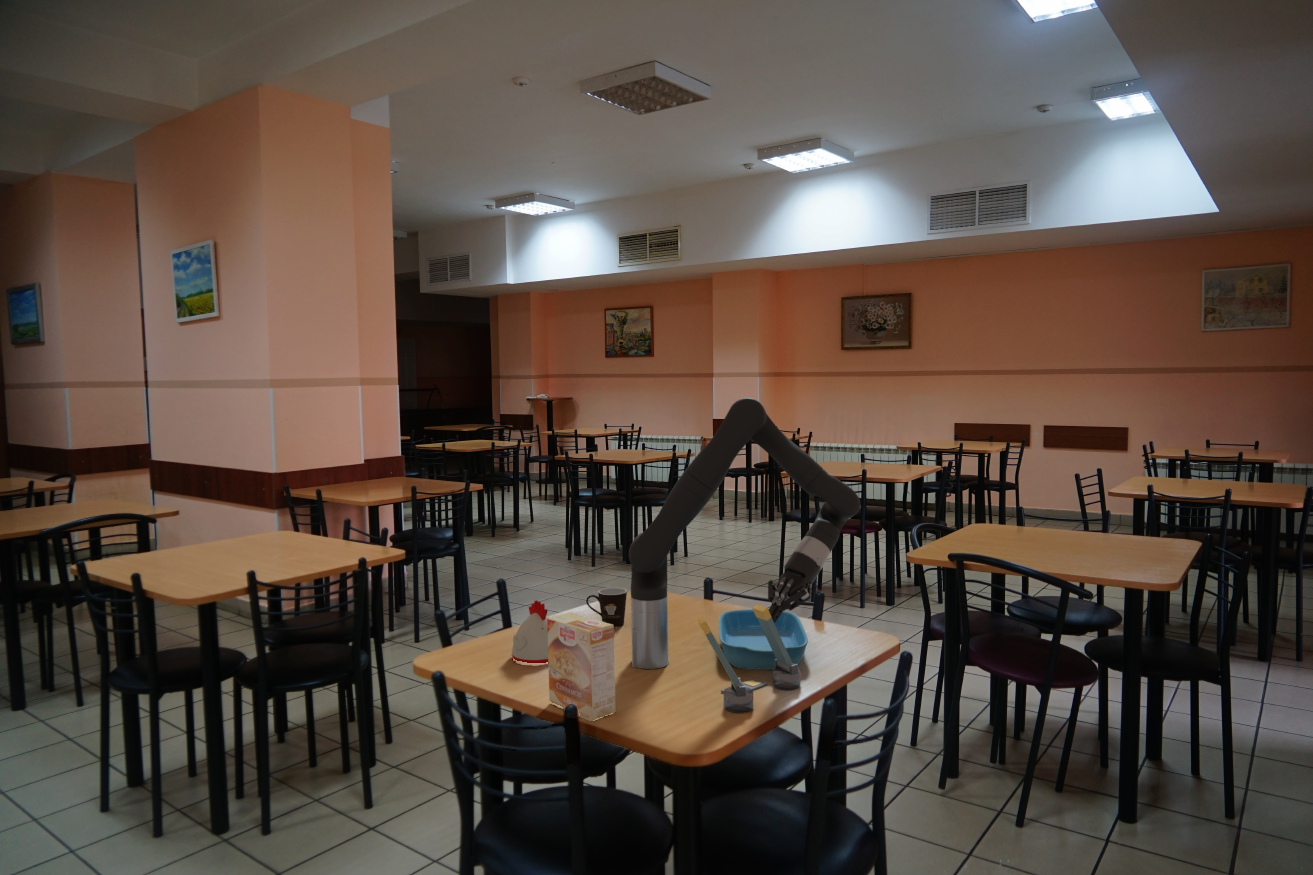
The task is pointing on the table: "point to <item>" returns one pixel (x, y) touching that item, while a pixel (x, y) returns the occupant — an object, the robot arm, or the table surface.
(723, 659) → the near lever
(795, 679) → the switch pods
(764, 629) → the far lever
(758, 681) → the chart card
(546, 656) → the kitchen timer
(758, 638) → the casserole dish
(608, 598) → the coffee mug
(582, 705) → the coffeecake box
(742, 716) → the table surface
